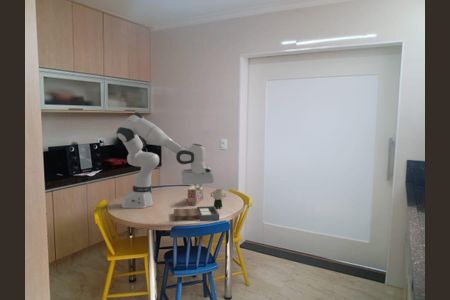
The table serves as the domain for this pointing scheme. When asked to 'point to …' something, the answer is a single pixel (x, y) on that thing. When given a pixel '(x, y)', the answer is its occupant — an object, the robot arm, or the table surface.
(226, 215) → the table surface
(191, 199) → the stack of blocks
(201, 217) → the box
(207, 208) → the tile
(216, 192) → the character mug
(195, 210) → the board
